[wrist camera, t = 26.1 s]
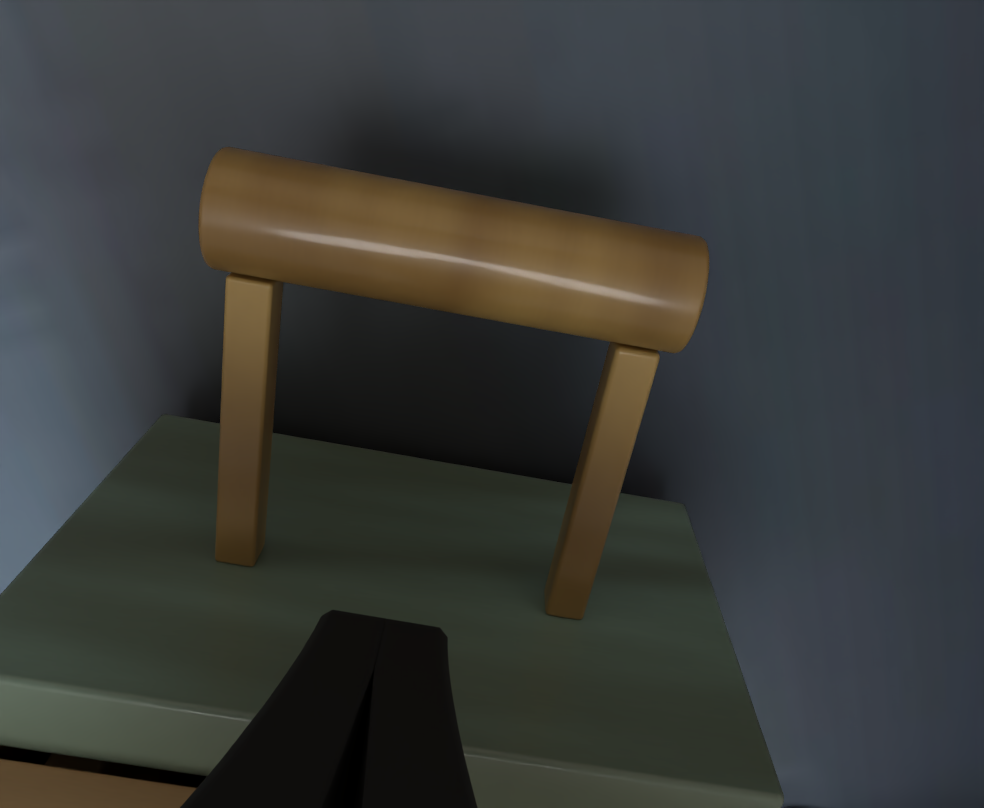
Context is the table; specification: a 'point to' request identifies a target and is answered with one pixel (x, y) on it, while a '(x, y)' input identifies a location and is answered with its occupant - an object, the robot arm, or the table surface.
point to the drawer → (398, 524)
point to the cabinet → (76, 786)
